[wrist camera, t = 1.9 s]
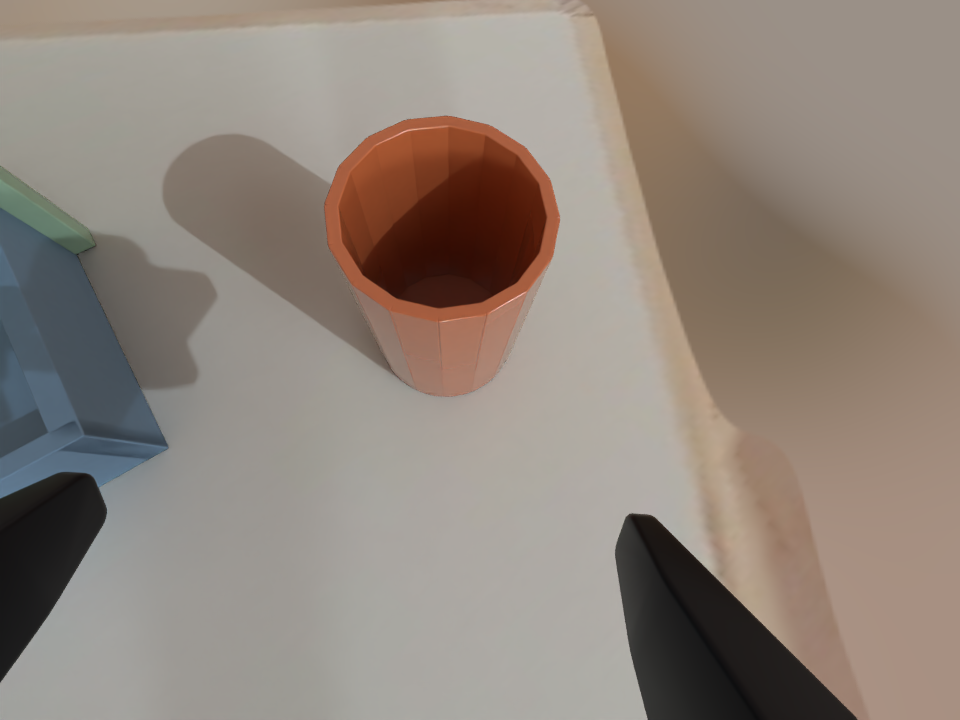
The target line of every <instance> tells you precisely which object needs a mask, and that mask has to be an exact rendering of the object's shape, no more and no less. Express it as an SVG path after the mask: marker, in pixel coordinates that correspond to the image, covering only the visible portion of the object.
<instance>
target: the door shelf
mask: <svg viewBox="0 0 960 720" xmlns="http://www.w3.org/2000/svg"><path fill="white" fill-rule="evenodd" d="M93 246H95V243H94V241H93V238H92V236H91V234H90V232H89V230H88V228H86V227H85V226H84V225H82V224H81V223H79V222H78V221H77V220H75V219H74V218H72V217H71V216H70V215H68V214H67V213H65V212H64V211H63V210H61V209H60V208H59V207H57V206H56V205H54V204H53V203H52V202H50V201H49V200H47V199H46V198H45V197H43V196H42V195H40V194H39V193H38V192H36V191H35V190H33V189H32V188H31V187H29V186H28V185H26V184H25V183H24V182H22V181H21V180H19V179H18V178H17V177H15V176H14V175H13V174H11V173H10V172H8V171H7V170H6V169H4V168H3V167H1V166H0V498H2V497H5V496H7V495H9V494H11V493H13V492H16V491H18V490H20V489H22V488H25V487H27V486H29V485H31V484H34V483H36V482H38V481H40V480H43V479H45V478H47V477H49V476H52V475H54V474H56V473H60V472H79V473H88V474H90V475H91V476H93V477H94V479H95V481H96V483H97V485H98V487H100V486H102V485H103V484H105V483H107V482H109V481H111V480H112V479H114V478H116V477H118V476H120V475H121V474H123V473H125V472H127V471H128V470H130V469H132V468H134V467H136V466H137V465H139V464H141V463H143V462H144V461H146V460H148V459H150V458H152V457H154V456H155V455H157V454H159V453H161V452H162V451H164V450H166V449H168V445H167V443H166V441H165V439H164V437H163V435H162V433H161V431H160V428H159V426H158V424H157V422H156V420H155V418H154V416H153V414H152V412H151V410H150V408H149V405H148V403H147V401H146V399H145V397H144V395H143V393H142V391H141V389H140V387H139V385H138V382H137V380H136V378H135V376H134V374H133V372H132V370H131V368H130V366H129V364H128V362H127V359H126V357H125V355H124V353H123V351H122V349H121V347H120V345H119V343H118V341H117V339H116V336H115V334H114V332H113V330H112V328H111V326H110V324H109V322H108V320H107V318H106V316H105V313H104V311H103V309H102V307H101V305H100V303H99V301H98V299H97V297H96V295H95V293H94V290H93V288H92V286H91V284H90V282H89V280H88V278H87V276H86V274H85V272H84V270H83V267H82V265H81V263H80V261H79V259H78V257H77V255H76V254H78V253H80V252H82V251H85V250H87V249H89V248H91V247H93Z"/></svg>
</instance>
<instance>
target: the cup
mask: <svg viewBox="0 0 960 720" xmlns="http://www.w3.org/2000/svg"><path fill="white" fill-rule="evenodd" d="M324 211H325V221H326V231H327V242H328V246H329V249H330V251H331V253H332V255H333V257H334V259H335V261H336V263H337V265H338V267H339V269H340V271H341V273H342V275H343V277H344V279H345V281H346V283H347V285H348V287H349V289H350V291H351V293H352V295H353V297H354V299H355V301H356V303H357V305H358V307H359V309H360V311H361V313H362V315H363V317H364V319H365V321H366V323H367V325H368V327H369V329H370V331H371V333H372V335H373V337H374V339H375V341H376V343H377V344H378V346H379V348H380V350H381V352H382V354H383V356H384V357H385V359H386V361H387V362H388V364H389V366H390V367H391V369H392V371H393V372H394V373H395V374H396V375H397V376H398V377H399V378H400V379H401V380H402V381H403V382H405V383H406V384H407V385H409V386H410V387H412V388H414V389H416V390H418V391H420V392H423V393H426V394H429V395H434V396H445V397H449V396H458V395H463V394H467V393H469V392H472V391H474V390H476V389H478V388H480V387H482V386H483V385H485V384H486V383H488V382H489V381H490V380H491V379H492V378H493V377H494V376H495V375H496V374H497V373H498V372H499V370H500V369H501V367H502V366H503V364H504V363H505V361H506V360H507V358H508V357H509V354H510V352H511V350H512V348H513V345H514V343H515V341H516V339H517V336H518V334H519V332H520V330H521V327H522V325H523V323H524V321H525V318H526V316H527V314H528V312H529V309H530V307H531V305H532V303H533V300H534V298H535V296H536V294H537V291H538V289H539V287H540V285H541V282H542V280H543V278H544V276H545V273H546V271H547V269H548V267H549V264H550V262H551V260H552V258H553V254H554V248H555V243H556V238H557V233H558V228H559V223H560V215H559V211H558V207H557V203H556V199H555V195H554V191H553V187H552V183H551V180H550V178H549V177H548V176H547V174H546V173H545V172H544V170H543V169H542V168H541V166H540V165H539V164H538V163H537V161H536V160H535V159H534V157H533V156H532V155H531V153H530V152H529V151H528V149H527V148H525V146H523V145H521V144H520V143H518V142H516V141H515V140H513V139H512V138H510V137H508V136H507V135H505V134H504V133H502V132H500V131H499V130H497V129H496V128H494V127H492V126H490V125H487V124H483V123H478V122H474V121H470V120H466V119H461V118H457V117H453V116H449V117H448V116H439V117H428V118H417V119H407V120H404V121H402V122H399V123H397V124H395V125H393V126H391V127H388V128H386V129H384V130H382V131H379V132H377V133H375V134H373V135H371V136H369V137H368V138H366V139H365V140H364V141H363V142H362V143H361V144H360V145H359V146H358V147H357V148H356V149H355V150H354V151H353V152H352V153H351V154H350V155H349V156H348V157H347V158H346V159H345V160H344V161H343V162H342V163H341V164H340V165H339V167H338V169H337V171H336V174H335V177H334V180H333V182H332V185H331V188H330V190H329V193H328V196H327V198H326V201H325V205H324Z"/></svg>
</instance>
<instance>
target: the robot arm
mask: <svg viewBox="0 0 960 720" xmlns="http://www.w3.org/2000/svg"><path fill="white" fill-rule="evenodd" d="M106 515H107V508H106V505H105V503H104V500H103V498H102V495H101V493H100V490H99V488H98V485H97V483H96V481H95V479H94V477H93V476H91V475H90V474H88V473H79V472H60V473H56V474H54V475H52V476H49V477H47V478H45V479H43V480H40V481H38V482H36V483H34V484H31V485H29V486H27V487H25V488H22V489H20V490H18V491H16V492H13V493H11V494H9V495H7V496H5V497H2V498H0V682H1V681H2V680H3V678H4V677H5V675H6V674H7V673H8V671H9V670H10V668H11V667H12V666H13V664H14V663H15V662H16V660H17V659H18V657H19V656H20V655H21V653H22V652H23V650H24V649H25V648H26V646H27V645H28V644H29V642H30V641H31V639H32V638H33V637H34V635H35V634H36V632H37V631H38V630H39V628H40V627H41V625H42V624H43V622H44V621H45V619H46V618H47V617H48V615H49V614H50V612H51V610H52V609H53V607H54V606H55V604H56V602H57V601H58V599H59V598H60V596H61V594H62V593H63V591H64V589H65V588H66V586H67V584H68V583H69V581H70V579H71V578H72V576H73V574H74V573H75V571H76V569H77V568H78V566H79V564H80V563H81V561H82V559H83V558H84V556H85V554H86V553H87V551H88V549H89V547H90V546H91V544H92V542H93V541H94V539H95V537H96V536H97V534H98V532H99V531H100V529H101V527H102V526H103V524H104V522H105V519H106ZM615 558H616V565H617V572H618V578H619V584H620V591H621V597H622V603H623V610H624V616H625V623H626V629H627V635H628V641H629V647H630V652H631V656H632V660H633V664H634V669H635V672H636V676H637V680H638V684H639V688H640V691H641V695H642V699H643V703H644V707H645V711H646V714H647V718H648V720H857V718H856V717H855V716H854V715H853V714H852V713H851V712H850V711H849V710H848V709H847V708H846V707H845V706H844V705H843V704H842V703H841V702H840V701H839V700H838V699H837V698H836V697H835V696H834V695H833V694H832V693H831V692H830V691H829V690H828V689H827V688H826V687H825V686H824V685H823V684H822V683H821V682H820V681H819V680H818V679H817V678H816V677H815V676H814V675H813V674H812V673H811V672H810V671H809V670H808V669H807V668H806V667H805V666H804V665H803V664H802V663H801V662H800V661H799V660H798V659H797V658H796V657H795V656H794V655H793V654H792V653H791V652H790V651H789V650H788V649H787V648H786V647H785V646H784V645H783V644H782V643H781V642H780V641H779V640H778V639H777V638H776V637H775V636H774V635H773V634H772V633H771V632H770V631H769V630H768V629H767V628H766V627H765V626H764V625H763V624H762V623H761V622H760V621H759V620H758V619H757V618H756V617H755V616H754V615H753V614H752V613H751V612H750V611H749V610H748V609H747V608H746V607H745V606H744V605H743V604H742V603H741V602H740V601H739V600H738V599H737V598H736V597H735V596H734V595H733V594H732V593H731V592H730V591H728V590H727V589H726V588H725V587H724V586H723V585H722V584H721V583H720V582H719V581H718V580H717V579H716V578H715V577H714V576H713V575H712V574H711V573H710V572H709V571H708V570H707V569H706V568H705V567H704V566H703V565H702V564H701V563H700V562H699V561H698V560H697V559H696V558H695V557H694V556H693V555H692V554H691V553H690V552H689V551H688V550H687V549H686V548H685V547H684V546H683V545H682V544H681V543H680V542H679V541H678V540H677V539H676V538H675V537H674V536H673V535H672V534H671V533H670V532H669V531H668V530H667V529H666V528H665V527H664V526H663V525H662V524H661V523H660V522H659V521H658V520H657V519H656V518H655V517H653V516H651V515H646V514H633V513H632V514H629V515H628V516H627V517H626V518H625V521H624V524H623V527H622V529H621V532H620V535H619V538H618V541H617V544H616V549H615Z"/></svg>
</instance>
